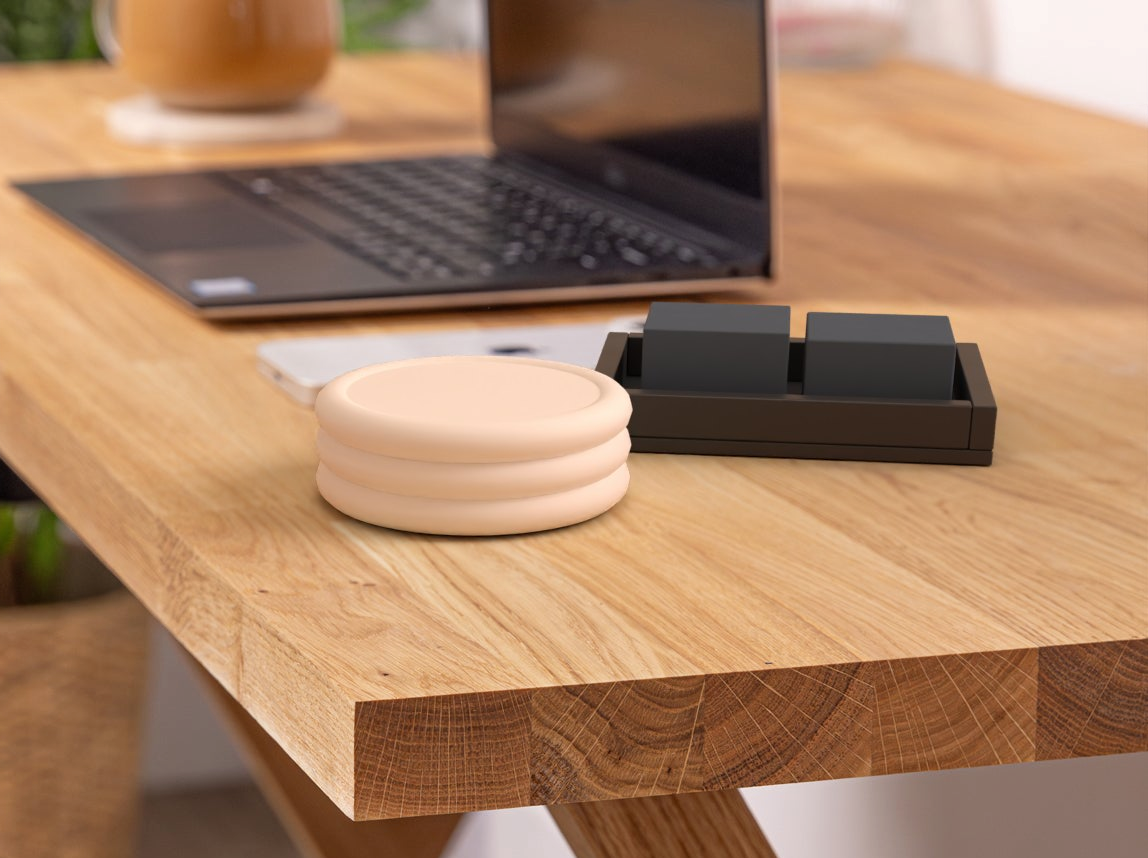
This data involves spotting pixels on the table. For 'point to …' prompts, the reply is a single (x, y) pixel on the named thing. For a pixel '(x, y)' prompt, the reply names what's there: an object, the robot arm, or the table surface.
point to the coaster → (473, 444)
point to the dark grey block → (716, 348)
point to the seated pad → (878, 356)
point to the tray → (808, 416)
